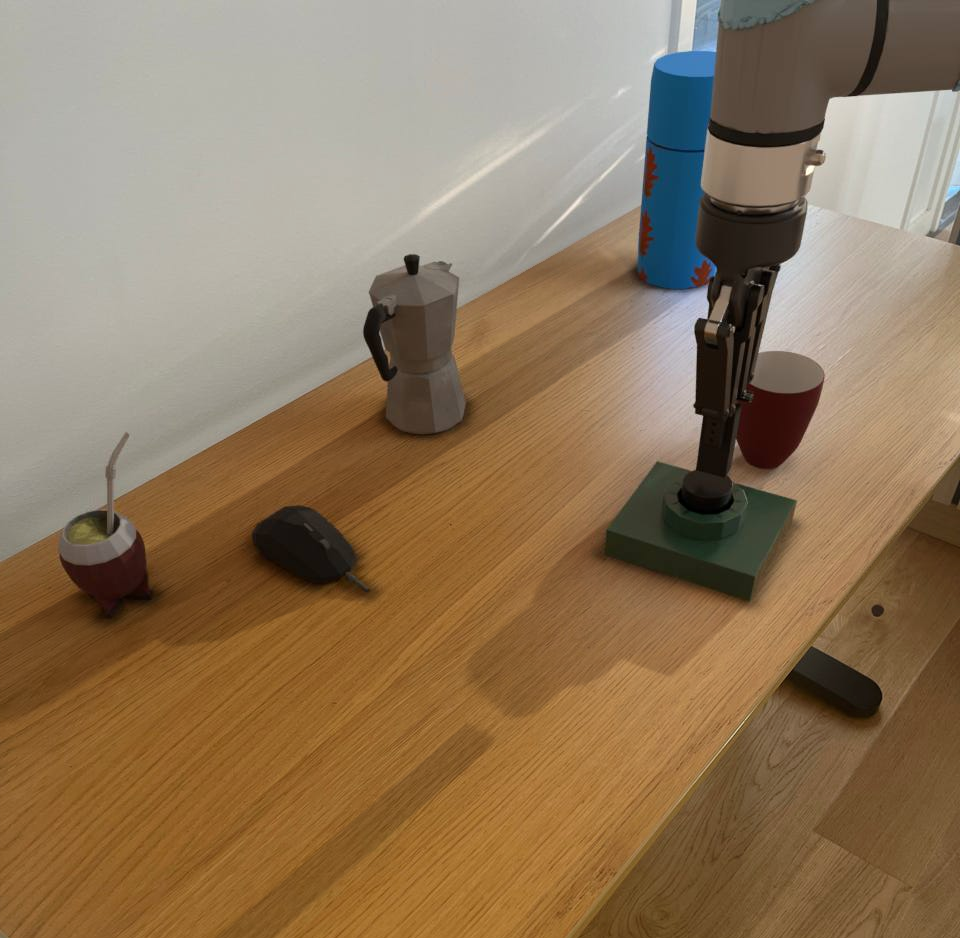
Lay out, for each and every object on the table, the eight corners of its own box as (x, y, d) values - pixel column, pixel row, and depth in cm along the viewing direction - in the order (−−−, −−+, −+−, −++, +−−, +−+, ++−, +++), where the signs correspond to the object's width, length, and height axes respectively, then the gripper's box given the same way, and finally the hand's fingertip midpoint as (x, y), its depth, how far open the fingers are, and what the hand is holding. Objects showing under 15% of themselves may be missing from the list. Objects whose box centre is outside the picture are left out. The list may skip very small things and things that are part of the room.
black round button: (736, 494, 86) (739, 476, 85) (719, 521, 84) (722, 503, 82) (690, 481, 88) (693, 463, 87) (673, 507, 85) (675, 489, 84)
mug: (698, 476, 96) (711, 389, 89) (700, 432, 102) (713, 346, 94) (805, 484, 94) (827, 396, 87) (802, 439, 100) (822, 353, 93)
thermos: (622, 263, 131) (636, 58, 113) (691, 248, 133) (715, 45, 115) (660, 296, 124) (681, 82, 106) (732, 280, 126) (764, 68, 108)
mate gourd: (69, 618, 85) (2, 483, 74) (105, 561, 91) (47, 427, 80) (147, 624, 84) (90, 488, 73) (179, 566, 90) (130, 431, 79)
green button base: (791, 525, 90) (801, 482, 87) (749, 602, 83) (759, 559, 79) (654, 485, 95) (658, 443, 92) (604, 554, 88) (607, 512, 85)
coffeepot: (422, 375, 112) (407, 222, 99) (491, 394, 109) (485, 237, 96) (347, 442, 103) (320, 282, 90) (419, 464, 100) (402, 302, 87)
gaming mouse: (343, 610, 84) (336, 577, 82) (240, 543, 92) (231, 510, 89) (393, 574, 88) (388, 541, 85) (290, 512, 95) (283, 479, 92)
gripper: (777, 238, 61) (728, 523, 78) (833, 168, 69) (778, 441, 86) (669, 220, 64) (644, 498, 81) (734, 155, 72) (699, 422, 89)
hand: (713, 469), depth 83 cm, fingers closed
